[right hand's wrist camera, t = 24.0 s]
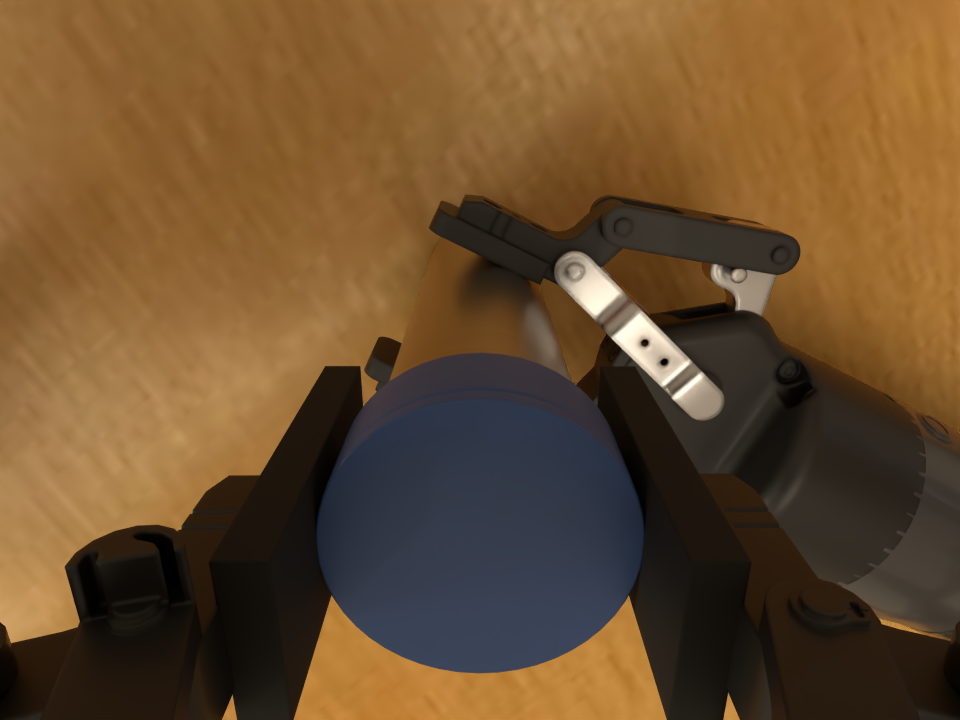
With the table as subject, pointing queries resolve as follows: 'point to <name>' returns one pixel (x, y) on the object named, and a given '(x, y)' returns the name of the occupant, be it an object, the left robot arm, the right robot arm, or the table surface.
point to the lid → (480, 516)
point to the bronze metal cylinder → (477, 313)
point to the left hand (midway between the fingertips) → (405, 286)
